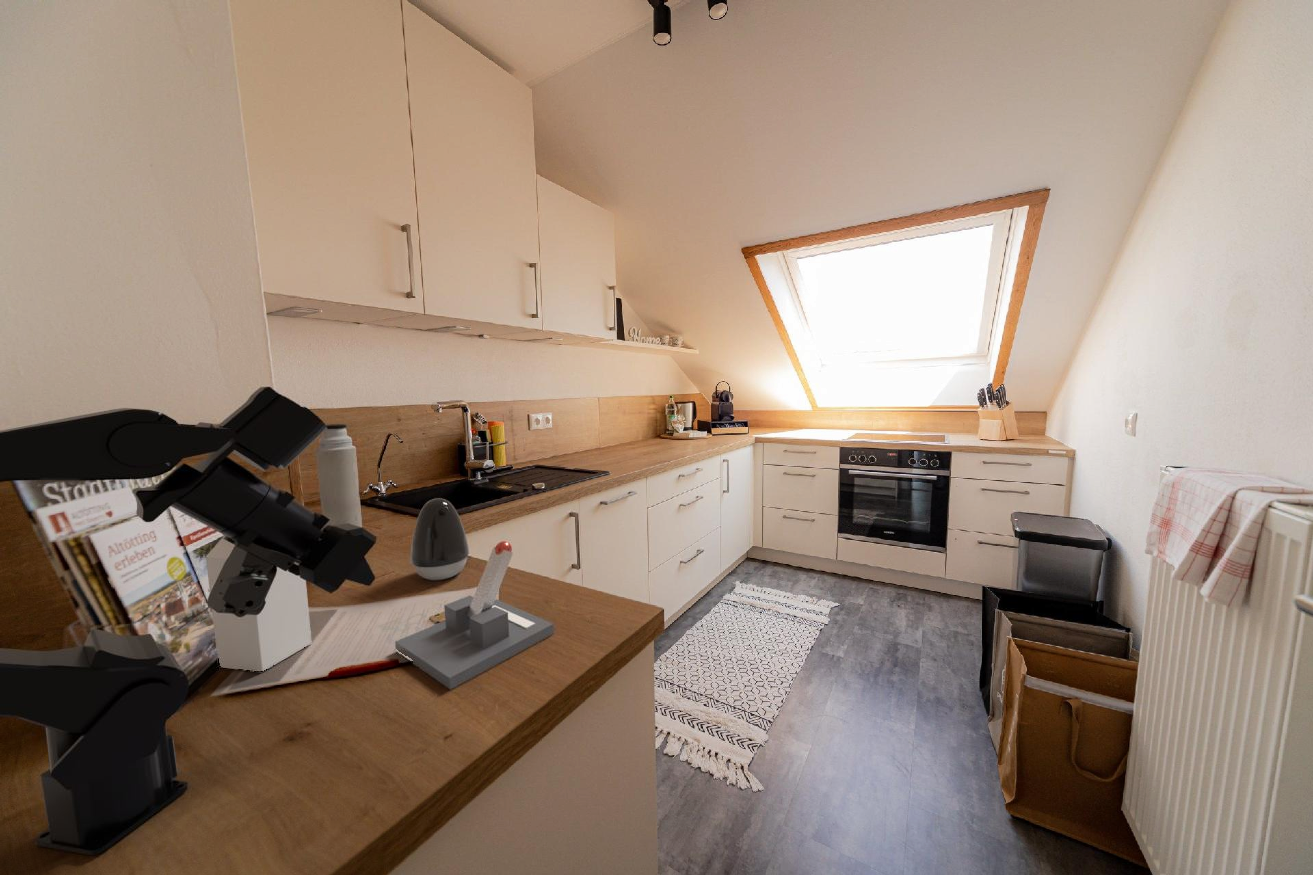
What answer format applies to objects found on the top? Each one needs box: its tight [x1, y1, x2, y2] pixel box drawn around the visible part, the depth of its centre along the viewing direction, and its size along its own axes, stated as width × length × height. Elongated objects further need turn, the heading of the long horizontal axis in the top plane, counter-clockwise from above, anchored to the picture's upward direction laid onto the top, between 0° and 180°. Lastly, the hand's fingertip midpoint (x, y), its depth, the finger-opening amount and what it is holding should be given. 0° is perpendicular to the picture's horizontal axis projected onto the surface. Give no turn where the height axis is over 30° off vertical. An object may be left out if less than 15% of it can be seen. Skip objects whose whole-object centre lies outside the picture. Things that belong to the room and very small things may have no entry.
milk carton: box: [205, 535, 313, 672], centre depth 64 cm, size 7×7×19 cm
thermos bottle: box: [315, 423, 363, 530], centre depth 115 cm, size 8×8×28 cm
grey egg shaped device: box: [410, 497, 470, 581], centre depth 91 cm, size 10×10×15 cm
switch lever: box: [466, 541, 514, 617], centre depth 69 cm, size 2×3×11 cm
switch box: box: [394, 595, 555, 691], centre depth 67 cm, size 16×14×5 cm
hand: (371, 581), depth 56 cm, fingers closed
